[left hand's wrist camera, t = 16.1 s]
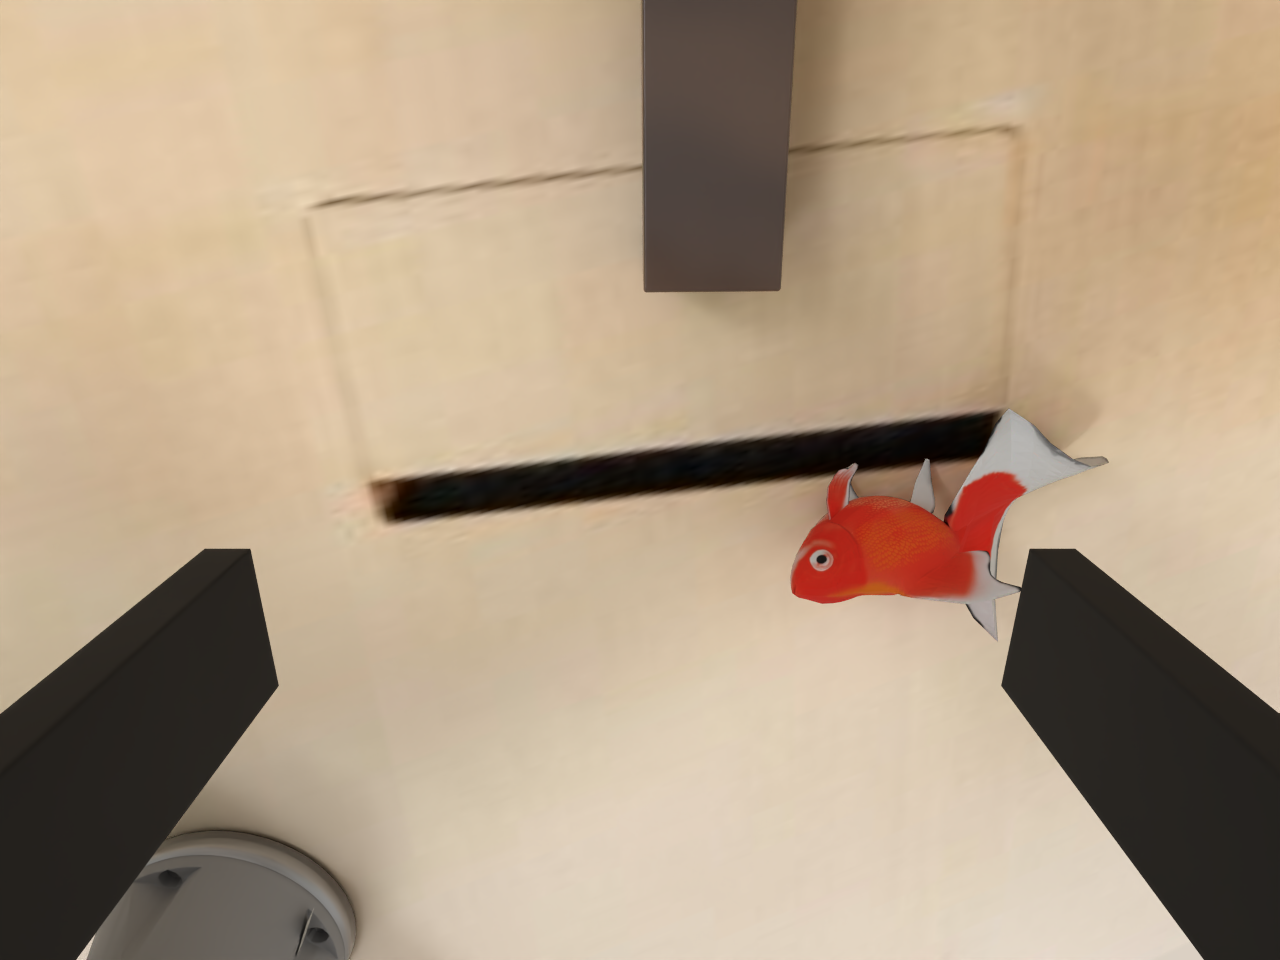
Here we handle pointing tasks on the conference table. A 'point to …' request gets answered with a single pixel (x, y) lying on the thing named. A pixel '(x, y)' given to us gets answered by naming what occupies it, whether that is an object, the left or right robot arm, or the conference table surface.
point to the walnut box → (715, 142)
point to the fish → (930, 529)
